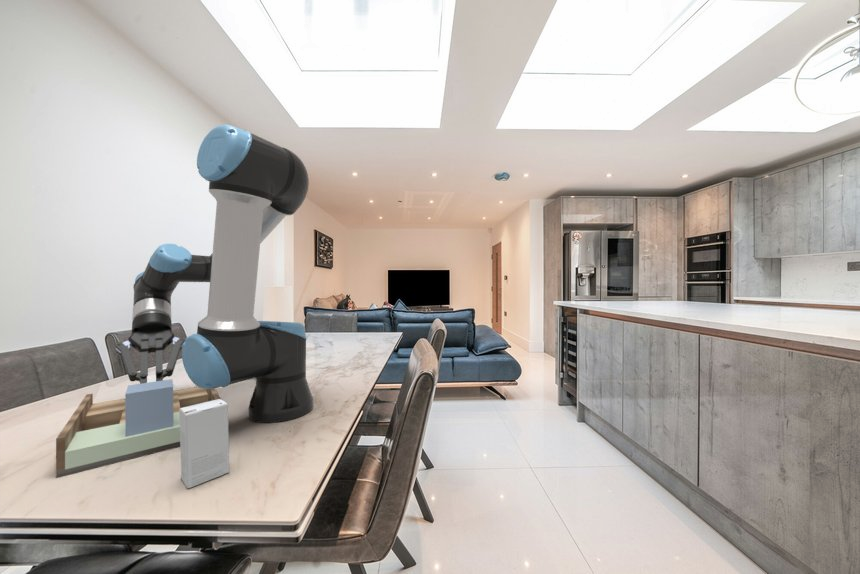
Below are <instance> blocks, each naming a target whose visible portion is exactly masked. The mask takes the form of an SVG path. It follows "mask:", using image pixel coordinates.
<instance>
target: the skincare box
mask: <svg viewBox="0 0 860 574" xmlns="http://www.w3.org/2000/svg"><path fill="white" fill-rule="evenodd" d="M179 415H180V447H179V449H180V450H179V451H180V479H181V480H182V482H183V484H184V486H185V487H186V488H187V489H191V488H193V487H195V486H198V485H200V484H203V483H206V482H208V481H211V480H213V479H217V478H218V477H221V476H223V475H225V474H229V473H230V451H229V450H230V449H229V445H230V444H229V404H228V403H227V402H226V401H225V400H223V399H222V398H221V399H217V400H213V401H209V402H204V403H200V404H196V405H192V406H188V407H183V408H180V409H179Z"/></svg>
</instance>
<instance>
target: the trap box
mask: <svg viewBox="0 0 860 574" xmlns="http://www.w3.org/2000/svg"><path fill="white" fill-rule="evenodd" d="M216 389H217V388H213V389H202V388H200V387H198V386H195V387H187V388H181V389H175V390H173V413H176V412H179V409H180V408H183V407H188V406H192V405H196V404H200V403H204V402H209V401H213V400H217V399H221V400H222V398H221V397H220V395H219V393H218V391H217V390H216ZM120 423H125V398H121V399H115V400H110V401H103V402H97V403H94V394H93V393H87V394H86V395H85V396H84V398H83V399H82V401H81V402H80V403H79V405H78V406H77V408H76V409H75V411H74V412H73V414H72V415H71V417H70V418H69V420H67V422H66V424H65V425H64V427H63V428H62V430H61V431H60V433H59V434H58V435H57V436H56V438H55V478H56V479H57V478H60V477H64V476H69V475H72V474H76V473H80V472H84V471H89V470H92V469H96V468H100V467H104V466H108V465H111V464H112V465H113V464H115V463H119V462H124V461H128V460H131V459H136V458H139V457H143V456H148V455H150V454H157V453H160V452H163V451H168V450H171V449H175V448H180V442H176V443H171V444H167V445H163V446H159V447H155V448H151V449H147V450H143V451H139V452H135V453H131V454H127V455H122V456H118V457H114V458H110V459H106V460H102V461H98V462H94V463H90V464H86V465H82V466H78V467H73V468H69V469H65V451H66V450H67V448H68V446H69V444H70V443H71V441H72V439H73V437H74V436H75V434H76V432H80V431H85V430H90V429H95V428H100V427H105V426H110V425H115V424H120Z"/></svg>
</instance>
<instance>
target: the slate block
mask: <svg viewBox="0 0 860 574" xmlns="http://www.w3.org/2000/svg"><path fill="white" fill-rule="evenodd" d="M173 391H174V381H173V378H171V379H170V378H169V379H165V380H164V379H163V381H156V382H149V383H142V384H140V383H138V384H137V383H136V384H129V385H127V388H126V392H125V396H124V397H125V398H124V399H125V434H126V437H127V436H132V435H137V434H141V433H146V432H150V431H155V430H159V429H164V428H169V427H173Z"/></svg>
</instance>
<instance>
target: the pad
mask: <svg viewBox="0 0 860 574" xmlns="http://www.w3.org/2000/svg"><path fill="white" fill-rule="evenodd" d="M176 442H180V415H179V412H176V413H173V427H169V428H164V429H159V430H155V431H150V432H146V433H141V434H137V435H132V436H127V437H126V434H125V423H120V424H115V425H110V426H105V427H100V428H95V429H90V430H85V431H80V432H76V434H75V436H74V437H73V439H72V441H71V443H70V444H69V446H68V448H67V450H66V451H65V469H69V468H73V467H78V466H82V465H86V464H90V463H94V462H98V461H102V460H106V459H110V458H114V457H118V456H122V455H127V454H131V453H135V452H139V451H143V450H147V449H151V448H155V447H159V446H163V445H167V444H171V443H176Z"/></svg>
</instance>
